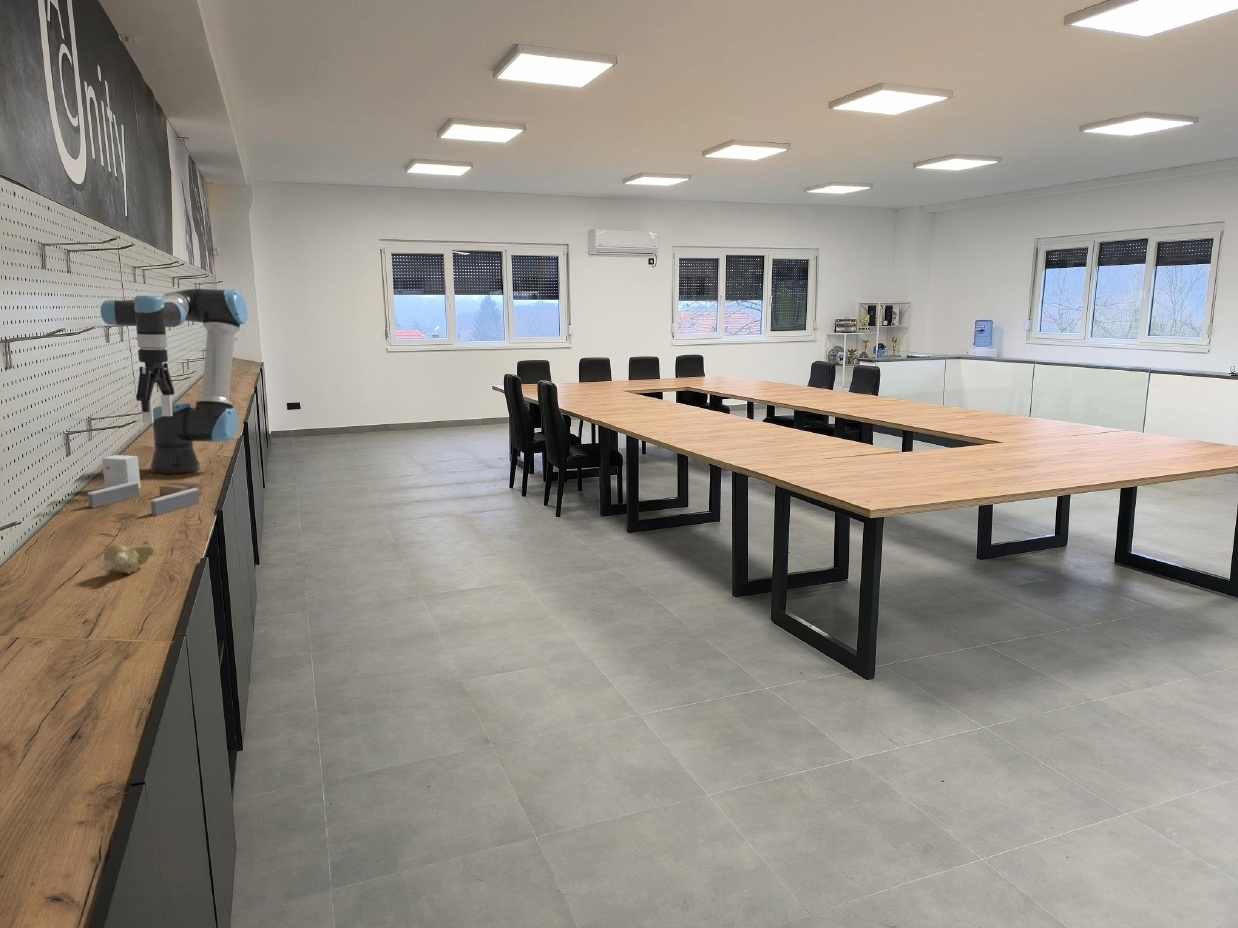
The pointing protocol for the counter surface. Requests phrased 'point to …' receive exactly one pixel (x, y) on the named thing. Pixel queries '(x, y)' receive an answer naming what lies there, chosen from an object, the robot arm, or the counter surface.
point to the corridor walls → (132, 491)
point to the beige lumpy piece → (126, 557)
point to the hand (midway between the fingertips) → (157, 419)
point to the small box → (120, 470)
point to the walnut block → (178, 487)
